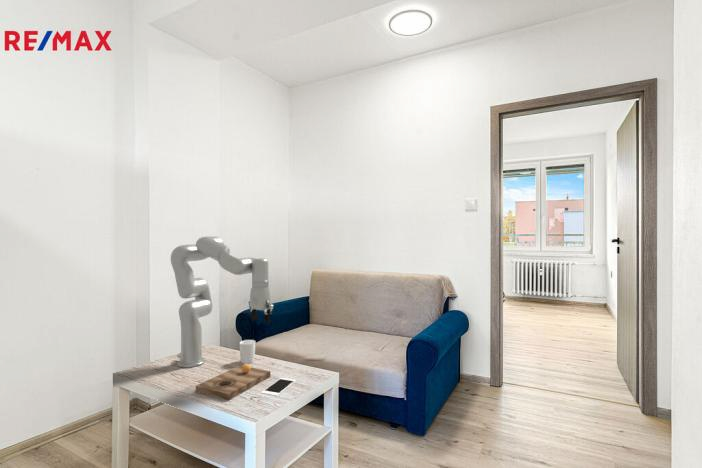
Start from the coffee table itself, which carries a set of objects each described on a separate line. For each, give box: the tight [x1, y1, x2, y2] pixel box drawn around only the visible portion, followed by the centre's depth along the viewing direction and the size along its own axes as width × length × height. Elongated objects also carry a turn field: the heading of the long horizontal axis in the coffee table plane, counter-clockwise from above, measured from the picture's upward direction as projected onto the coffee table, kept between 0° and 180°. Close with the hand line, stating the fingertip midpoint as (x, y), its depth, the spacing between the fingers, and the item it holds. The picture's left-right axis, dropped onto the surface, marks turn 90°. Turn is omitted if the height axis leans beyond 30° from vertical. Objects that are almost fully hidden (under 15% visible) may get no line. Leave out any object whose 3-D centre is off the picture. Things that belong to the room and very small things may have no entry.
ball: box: [241, 363, 251, 373], centre depth 163 cm, size 4×4×4 cm
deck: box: [195, 364, 271, 401], centre depth 156 cm, size 26×18×2 cm
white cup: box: [239, 339, 256, 365], centre depth 184 cm, size 8×8×10 cm
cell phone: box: [260, 377, 296, 397], centre depth 154 cm, size 8×16×1 cm, turn 160°
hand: (260, 321), depth 168 cm, fingers open, 9 cm apart
